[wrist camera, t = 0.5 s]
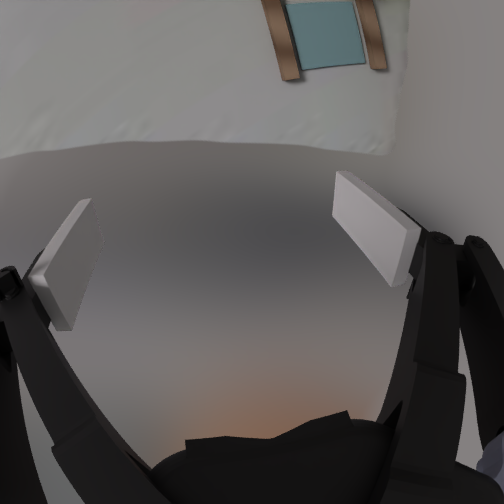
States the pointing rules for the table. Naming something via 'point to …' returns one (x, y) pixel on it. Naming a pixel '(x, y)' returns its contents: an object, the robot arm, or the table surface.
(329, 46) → the marked pad
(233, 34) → the table surface
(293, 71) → the pair of walnut rails
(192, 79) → the table surface
